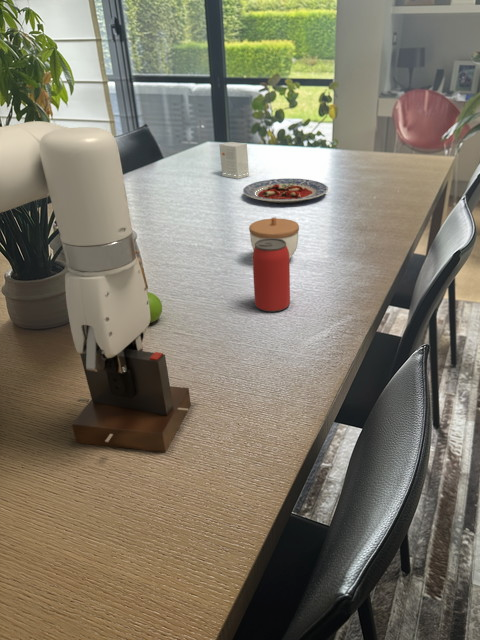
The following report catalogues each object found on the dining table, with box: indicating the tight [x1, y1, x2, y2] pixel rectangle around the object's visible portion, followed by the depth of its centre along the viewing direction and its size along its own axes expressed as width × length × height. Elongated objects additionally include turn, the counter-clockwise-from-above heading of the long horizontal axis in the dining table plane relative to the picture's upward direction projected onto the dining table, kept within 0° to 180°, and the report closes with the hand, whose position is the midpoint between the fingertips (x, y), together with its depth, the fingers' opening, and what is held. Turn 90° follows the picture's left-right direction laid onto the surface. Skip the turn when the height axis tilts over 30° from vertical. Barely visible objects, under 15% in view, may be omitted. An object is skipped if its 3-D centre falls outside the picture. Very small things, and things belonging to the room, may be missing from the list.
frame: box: [79, 348, 173, 416], centre depth 69 cm, size 11×2×8 cm, turn 72°
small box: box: [218, 141, 250, 180], centre depth 188 cm, size 8×6×10 cm
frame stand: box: [71, 385, 192, 453], centre depth 72 cm, size 15×15×3 cm
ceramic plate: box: [242, 178, 329, 204], centre depth 167 cm, size 26×26×3 cm
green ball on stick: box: [136, 249, 163, 324], centre depth 96 cm, size 5×6×12 cm
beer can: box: [251, 238, 291, 313], centre depth 99 cm, size 7×7×12 cm
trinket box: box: [248, 217, 300, 259], centre depth 120 cm, size 11×11×9 cm
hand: (129, 388), depth 70 cm, fingers closed on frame, 2 cm apart
